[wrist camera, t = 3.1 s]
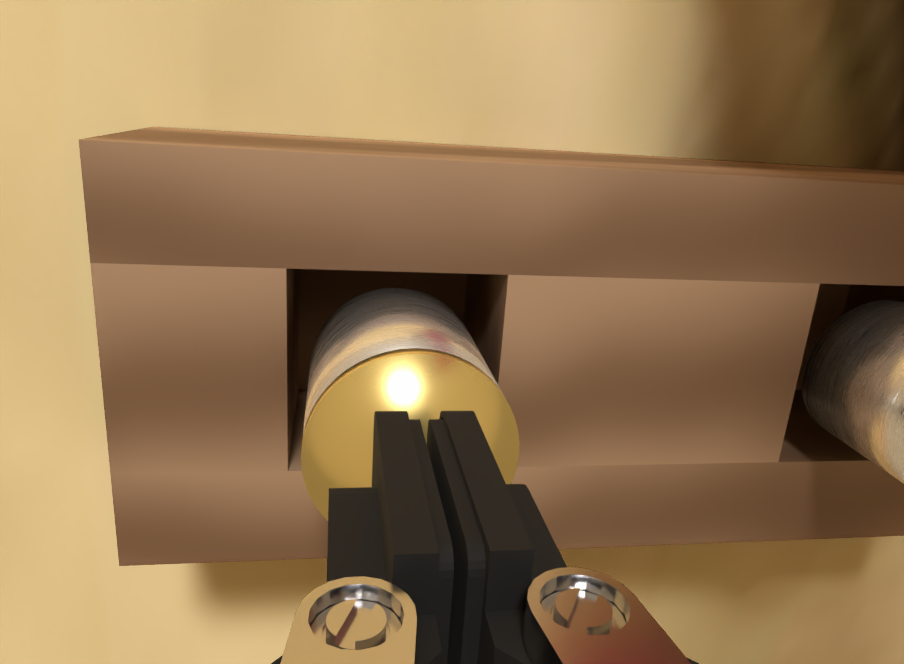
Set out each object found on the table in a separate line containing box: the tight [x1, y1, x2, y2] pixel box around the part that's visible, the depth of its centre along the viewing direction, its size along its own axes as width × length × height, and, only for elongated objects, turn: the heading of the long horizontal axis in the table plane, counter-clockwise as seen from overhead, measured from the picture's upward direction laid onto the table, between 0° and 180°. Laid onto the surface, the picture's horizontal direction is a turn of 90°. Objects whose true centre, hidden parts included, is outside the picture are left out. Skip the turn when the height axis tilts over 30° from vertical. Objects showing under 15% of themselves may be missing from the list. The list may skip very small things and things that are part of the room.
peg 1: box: [301, 288, 519, 521], centre depth 15 cm, size 4×4×4 cm
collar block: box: [79, 127, 904, 566], centre depth 20 cm, size 10×26×6 cm, turn 86°
